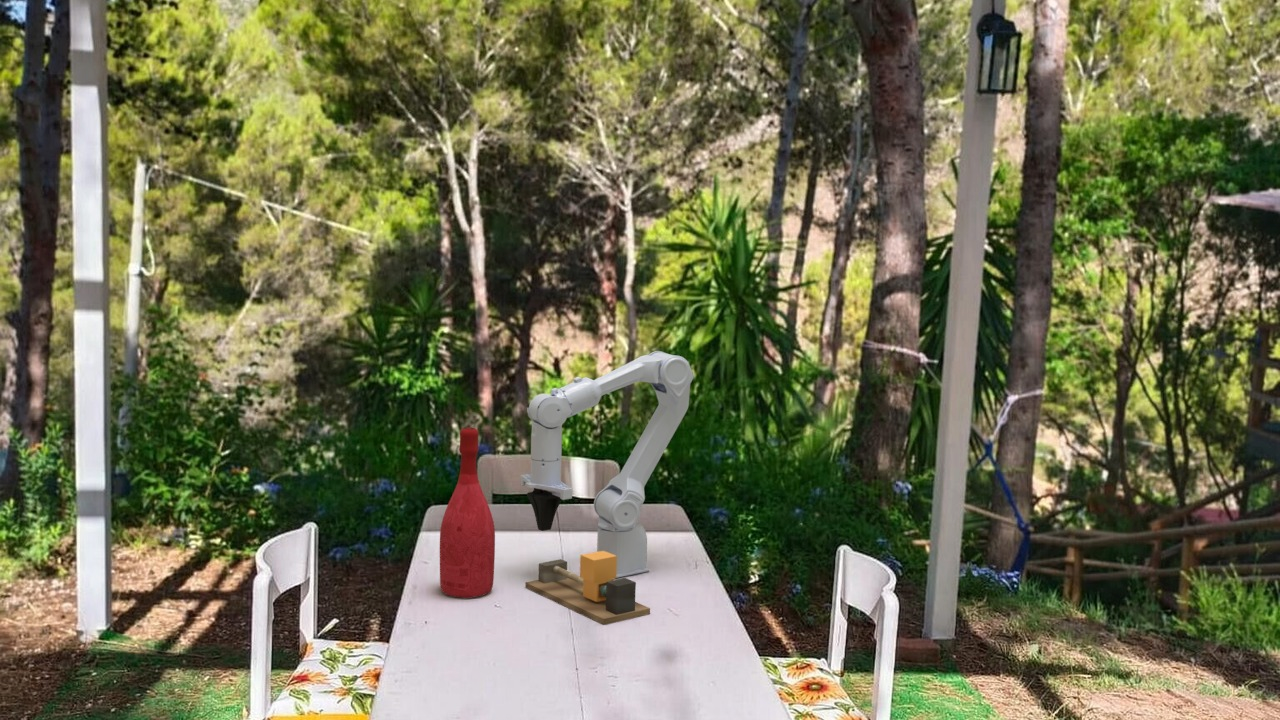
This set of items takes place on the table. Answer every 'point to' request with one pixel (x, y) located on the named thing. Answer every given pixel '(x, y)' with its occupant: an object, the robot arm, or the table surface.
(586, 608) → the cord rig
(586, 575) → the orange notched block
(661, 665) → the table surface
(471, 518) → the wine bottle
